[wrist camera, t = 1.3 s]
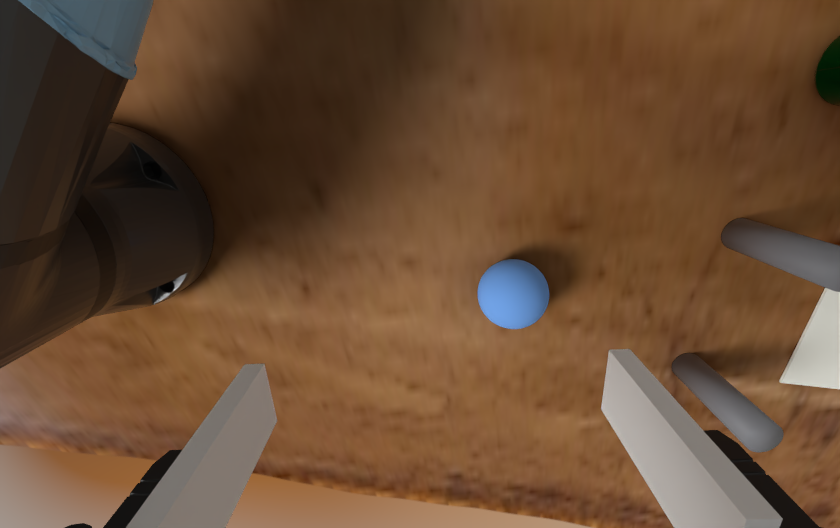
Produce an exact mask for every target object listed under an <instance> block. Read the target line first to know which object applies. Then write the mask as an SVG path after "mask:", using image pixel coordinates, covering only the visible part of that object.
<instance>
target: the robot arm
mask: <svg viewBox="0 0 840 528" xmlns="http://www.w3.org/2000/svg"><path fill="white" fill-rule="evenodd" d="M152 5H153V0H0V368H2V367H4V366H6V365H7V364H9V363H11V362H13V361H14V360H16V359H18V358H20V357H21V356H23V355H25V354H27V353H29V352H30V351H32V350H34V349H36V348H37V347H39V346H41V345H43V344H44V343H46V342H48V341H50V340H52V339H53V338H55V337H57V336H59V335H60V334H62V333H64V332H66V331H67V330H69V329H71V328H73V327H74V326H76V325H78V324H80V323H81V322H83V321H85V320H87V319H89V318H91V317H93V316H99V315H104V314H110V313H115V312H121V311H126V310H131V309H137V308H142V307H147V306H151V305H154V304H157V303H160V302H162V301H165V300H167V299H169V298H170V297H172V296H174V295H175V294H177V293H178V292H180V291H181V290H183V289H184V288H186V287H187V286H189V285H190V284H191V283H192V282H194V281H195V280H196V279H197V278H198V276H199V275H200V274H201V273H202V271H203V270H204V268H205V266H206V264H207V262H208V260H209V257H210V254H211V251H212V246H213V235H214V231H213V220H212V214H211V210H210V207H209V204H208V201H207V198H206V196H205V194H204V192H203V190H202V187H201V186H200V184H199V182H198V181H197V179H196V178H195V176H194V174H193V173H192V172H191V170H190V169H189V168H188V167H187V166H186V164H185V163H184V162H183V161H182V160H181V159H180V158H179V157H178V156H177V155H176V154H175V153H174V152H173V151H171V150H170V149H169V148H168V147H167V146H165V145H164V144H162V143H161V142H160V141H158V140H156V139H155V138H153V137H151V136H149V135H148V134H146V133H143V132H141V131H139V130H136V129H134V128H131V127H128V126H124V125H120V124H114V123H110V121H111V119H112V117H113V114H114V112H115V110H116V107H117V105H118V103H119V100H120V98H121V96H122V93H123V91H124V89H125V86H126V84H127V82H128V79H130V80H133V78H134V77H135V75H136V71H137V67H136V65H135V59H136V56H137V52H138V49H139V46H140V43H141V39H142V36H143V33H144V30H145V26H146V23H147V20H148V17H149V14H150V11H151V8H152ZM601 410H602V411H603V413H604V415H605V416H606V418H607V419H608V421H609V423H610V424H611V426H612V428H613V429H614V431H615V432H616V434H617V436H618V437H619V439H620V441H621V442H622V444H623V445H624V447H625V449H626V450H627V452H628V454H629V455H630V457H631V458H632V460H633V462H634V463H635V465H636V467H637V468H638V470H639V471H640V473H641V475H642V476H643V478H644V480H645V481H646V483H647V484H648V486H649V488H650V489H651V491H652V492H653V494H654V496H655V497H656V499H657V501H658V502H659V504H660V505H661V507H662V509H663V510H664V512H665V514H666V515H667V517H668V518H669V520H670V522H671V523H672V525H673V527H674V528H822V527H819V526H818V525H817V524H816V523H815V522H814V521H813V520H812V519H811V518H810V517H809V516H808V515H807V514H806V513H805V512H804V511H803V510H802V509H801V508H800V507H799V506H798V505H797V504H796V503H795V502H794V501H793V500H792V499H791V498H790V497H789V496H788V495H787V494H786V493H785V492H784V491H783V490H782V489H781V488H780V486H779V485H778V484H777V483H776V482H775V481H774V480H773V479H772V478H771V477H770V476H769V475H766V474H765V471H764V470H763V469H762V468H761V467H760V466H759V465H758V464H757V463H756V462H753V459H752V458H751V457H750V456H749V455H748V454H747V453H746V452H745V450H744V449H743V448H742V447H741V446H740V445H739V444H738V443H736V442H735V441H733V440H732V439H730V438H729V437H727V436H726V435H724V434H723V433H721V432H720V431H718V430H708V431H703V430H702V429H701V428H700V426H699V425H698V424H697V423H696V422H695V421H694V420H693V419H692V418H691V416H690V415H689V414H688V413H687V412H686V411H685V410H684V409H683V408H682V406H681V405H680V404H679V403H678V402H677V401H676V400H675V399H674V398H673V397H672V395H671V394H670V393H669V392H668V391H667V390H666V389H665V388H664V387H663V385H662V384H661V383H660V382H659V381H658V380H657V379H656V378H655V377H654V375H653V374H652V373H651V372H650V371H649V370H648V369H647V368H646V367H645V365H644V364H643V363H642V362H641V361H640V360H639V359H638V358H637V357H636V355H635V354H634V353H633V352H632V351H631V350H630V349H618V350H609V354H608V362H607V369H606V376H605V384H604V391H603V398H602V406H601ZM276 422H277V418H276V413H275V409H274V404H273V400H272V395H271V391H270V387H269V382H268V378H267V373H266V369H265V364H245V365H244V366H243V367H242V369H241V370H240V372H239V373H238V374H237V376H236V377H235V378H234V380H233V381H232V383H231V384H230V385H229V387H228V388H227V389H226V391H225V392H224V394H223V395H222V396H221V398H220V399H219V400H218V402H217V403H216V405H215V406H214V407H213V409H212V410H211V411H210V413H209V414H208V416H207V417H206V418H205V420H204V421H203V422H202V424H201V425H200V427H199V428H198V429H197V431H196V432H195V433H194V435H193V436H192V438H191V439H190V440H189V442H188V443H187V444H186V446H185V447H184V449H183V450H170V451H169V452H167V453H166V454H165V455H164V456H162V457H161V458H160V459H159V460H158V461H156V462H155V463H154V464H153V465H152V466H151V467H150V469H149V470H148V471H147V473H146V474H145V475H144V476H143V478H142V479H141V481H140V483H138V484H137V485H136V486H135V488H134V489H133V490H132V492H131V493H130V496H129V497H127V498H126V499H125V500H124V502H123V503H122V505H121V506H120V507H119V508H118V509H117V511H116V512H115V514H114V515H113V516H112V517H111V519H110V520H109V521H108V522H107V524H106V525H105V526H104V527H103V528H226V525H227V523H228V521H229V519H230V517H231V515H232V513H233V511H234V509H235V507H236V505H237V503H238V501H239V499H240V497H241V494H242V492H243V490H244V488H245V486H246V484H247V482H248V480H249V478H250V476H251V474H252V472H253V470H254V468H255V466H256V464H257V461H258V459H259V457H260V455H261V453H262V451H263V449H264V447H265V445H266V443H267V441H268V439H269V437H270V435H271V433H272V430H273V428H274V426H275V424H276ZM65 528H92V526H90V525H87V524H84V523H82V524H74V525H70V526H67V527H65Z"/></svg>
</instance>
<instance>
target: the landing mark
mask: <svg viewBox="0 0 840 528" xmlns="http://www.w3.org/2000/svg"><path fill="white" fill-rule="evenodd" d="M779 382H780V383H787V384H797V385H806V386H815V387H824V388H833V389H840V292H836V291H833V290H830V289H828V288H825V289H824V291H823V293H822V295H821V297H820V299H819V301H818V303H817V305H816V307H815V309H814V311H813V313H812V316H811V318H810V320H809V322H808V324H807V326H806V328H805V330H804V332H803V334H802V336H801V338H800V340H799V342H798V344H797V346H796V348H795V350H794V352H793V354H792V356H791V358H790V360H789V362H788V364H787V366H786V368H785V370H784V372H783V374H782V376H781V378H780V380H779Z"/></svg>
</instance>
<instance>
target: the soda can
mask: <svg viewBox="0 0 840 528" xmlns="http://www.w3.org/2000/svg"><path fill="white" fill-rule="evenodd" d="M815 85H816V88H817V91H818V93H819V94H820V96H821V97H822V98H823V99H824V100H825V101H827V102H829V103H831V104H834V105H840V36H839V37H838V38H837V39H835V40H834V41H833V42H832V43H831V44H830V45H829V47H828V48H827V49H826V51H825V52H824V53H823V55H822V56H821V58H820V60H819V62H818V64H817V67H816V71H815Z"/></svg>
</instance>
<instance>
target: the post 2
mask: <svg viewBox="0 0 840 528" xmlns="http://www.w3.org/2000/svg"><path fill="white" fill-rule="evenodd" d="M672 371H673V373H674V374H675V375H676V376H677V377H678V378H679V379H680V380H681V381H682V382H683V383H684V384H685V385H686V386H687V387H688V388H689V389H690V390H691V391H692V392H693V393H694V394H695V395H696V396H697V397H698V398H699V399H700V400H701V401H702V402H703V403H704V404H705V405H706V406H707V407H708V409H709V410H710V411H711V412H712V413H713V414H714V415H715V416H716V417H717V418H718V419H719V420H720V421H721V422H722V423H723V424H724V425H725V426H726V427H727V428H728V429H729V430H730V431H731V432H732V433H733V434H734V435H735V436H736V437H737V438H738V439H739V440H740V441H741V442H742V443H743V444H744V445H745V446H746V447H747V448H748V449H749V450H751V451H754V452H765V451H768V450H771V449H773V448H774V447H776V446H777V445H778V444H779V443H780V442H781V440H782V438H783V430H782V429H781V427H780V426H778V425H777V424H776V423H775V422H774V421H773V420H771V419H770V418H769V417H768V416H767V415H766V414H764V413H763V412H762V411H761V410H760V409H759V408H758V407H756V406H755V405H754V404H753V403H752V402H751V401H749V400H748V399H747V398H746V397H745V396H744V395H742V394H741V393H740V392H739V391H738V390H737V389H736V388H734V387H733V386H732V385H731V384H730V383H729V382H727V381H726V380H725V379H724V378H723V377H722V376H720V375H719V374H718V373H717V372H716V371H715V370H714V369H712V368H711V367H710V366H709V365H708V364H707V363H705V362H704V361H703V360H702V359H701V358H700V357H698V356H697V355H696V354H693V353H685V354H682V355H680V356H678V357H677V358H676V359H675V360H674V361H673V363H672Z"/></svg>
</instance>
